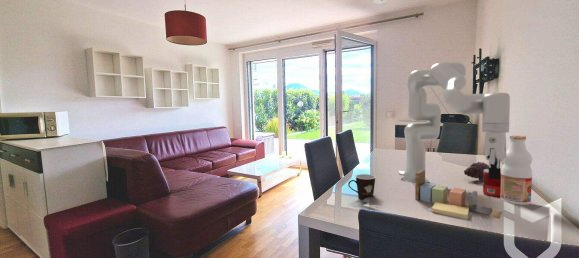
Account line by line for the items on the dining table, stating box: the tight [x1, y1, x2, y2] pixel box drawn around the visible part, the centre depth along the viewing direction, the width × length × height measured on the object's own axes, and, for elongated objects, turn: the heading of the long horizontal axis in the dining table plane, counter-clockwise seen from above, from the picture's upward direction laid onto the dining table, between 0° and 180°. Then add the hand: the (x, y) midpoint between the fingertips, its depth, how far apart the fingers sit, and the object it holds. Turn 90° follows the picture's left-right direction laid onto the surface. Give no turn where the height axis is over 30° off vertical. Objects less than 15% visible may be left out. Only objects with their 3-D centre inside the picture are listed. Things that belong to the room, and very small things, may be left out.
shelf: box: [414, 169, 503, 219], centre depth 102 cm, size 28×8×13 cm, turn 44°
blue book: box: [420, 182, 437, 203], centre depth 110 cm, size 4×6×6 cm, turn 134°
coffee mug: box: [347, 173, 376, 201], centre depth 118 cm, size 12×9×10 cm
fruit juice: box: [499, 135, 533, 206], centre depth 105 cm, size 9×9×28 cm
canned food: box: [482, 169, 501, 198], centre depth 117 cm, size 8×8×11 cm
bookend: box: [468, 190, 493, 217], centre depth 97 cm, size 6×7×6 cm
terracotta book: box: [448, 187, 467, 207], centre depth 102 cm, size 4×6×6 cm, turn 134°
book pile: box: [426, 202, 474, 221], centre depth 97 cm, size 13×9×3 cm
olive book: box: [431, 184, 449, 204], centre depth 107 cm, size 4×6×6 cm, turn 134°
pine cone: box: [463, 161, 489, 182], centre depth 138 cm, size 18×10×10 cm, turn 89°
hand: (494, 178), depth 93 cm, fingers closed
